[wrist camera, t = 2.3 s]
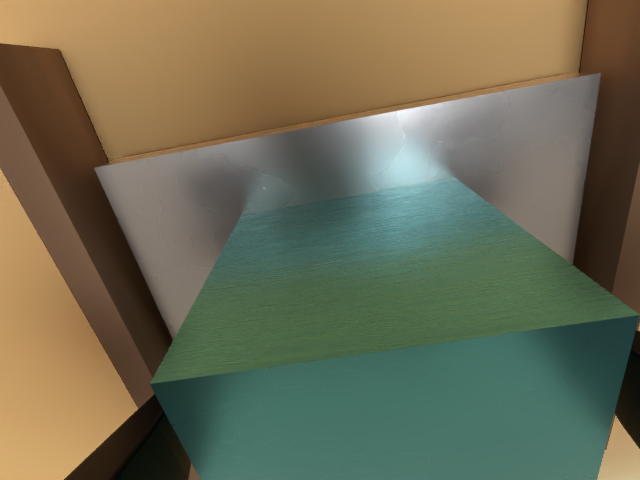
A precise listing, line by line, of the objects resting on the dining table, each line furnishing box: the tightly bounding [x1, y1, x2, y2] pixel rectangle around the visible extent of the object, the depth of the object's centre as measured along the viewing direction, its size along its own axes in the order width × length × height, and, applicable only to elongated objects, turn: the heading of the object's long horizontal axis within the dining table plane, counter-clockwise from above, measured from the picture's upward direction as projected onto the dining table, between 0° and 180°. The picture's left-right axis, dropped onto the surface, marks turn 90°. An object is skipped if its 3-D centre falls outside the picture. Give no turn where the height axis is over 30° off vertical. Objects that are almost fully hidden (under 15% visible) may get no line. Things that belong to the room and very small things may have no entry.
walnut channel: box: [0, 0, 640, 480], centre depth 11 cm, size 16×16×2 cm
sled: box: [94, 73, 640, 480], centre depth 9 cm, size 13×10×7 cm
